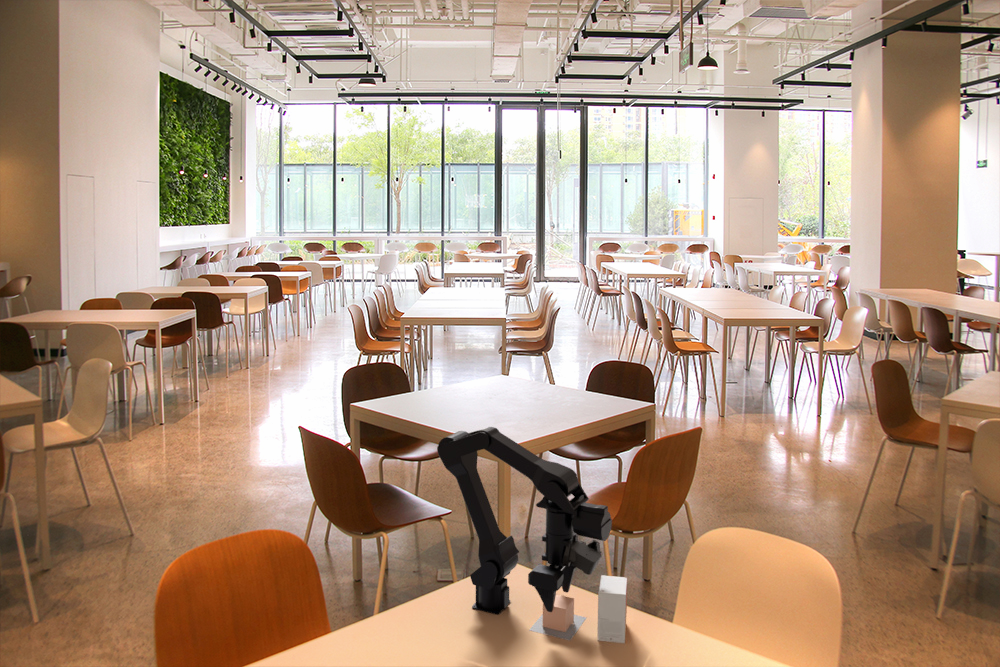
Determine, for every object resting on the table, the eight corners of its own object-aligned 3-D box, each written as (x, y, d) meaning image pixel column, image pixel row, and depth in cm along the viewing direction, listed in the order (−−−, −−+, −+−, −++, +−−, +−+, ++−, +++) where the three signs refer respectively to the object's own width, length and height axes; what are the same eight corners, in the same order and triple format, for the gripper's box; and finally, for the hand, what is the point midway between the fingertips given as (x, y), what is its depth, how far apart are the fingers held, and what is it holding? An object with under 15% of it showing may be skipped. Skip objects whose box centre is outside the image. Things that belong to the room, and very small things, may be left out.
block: (542, 626, 159) (542, 603, 159) (551, 615, 164) (551, 593, 163) (565, 632, 157) (565, 609, 157) (573, 620, 162) (574, 598, 161)
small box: (625, 644, 153) (626, 595, 152) (596, 641, 154) (598, 592, 153) (626, 624, 161) (628, 576, 160) (599, 621, 162) (600, 574, 161)
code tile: (528, 631, 158) (528, 630, 158) (547, 609, 167) (547, 608, 167) (570, 641, 154) (570, 640, 154) (586, 618, 163) (586, 617, 163)
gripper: (581, 555, 146) (579, 632, 148) (611, 521, 163) (609, 590, 165) (527, 544, 151) (526, 618, 153) (561, 512, 167) (560, 579, 170)
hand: (558, 601), depth 160 cm, fingers open, 9 cm apart
